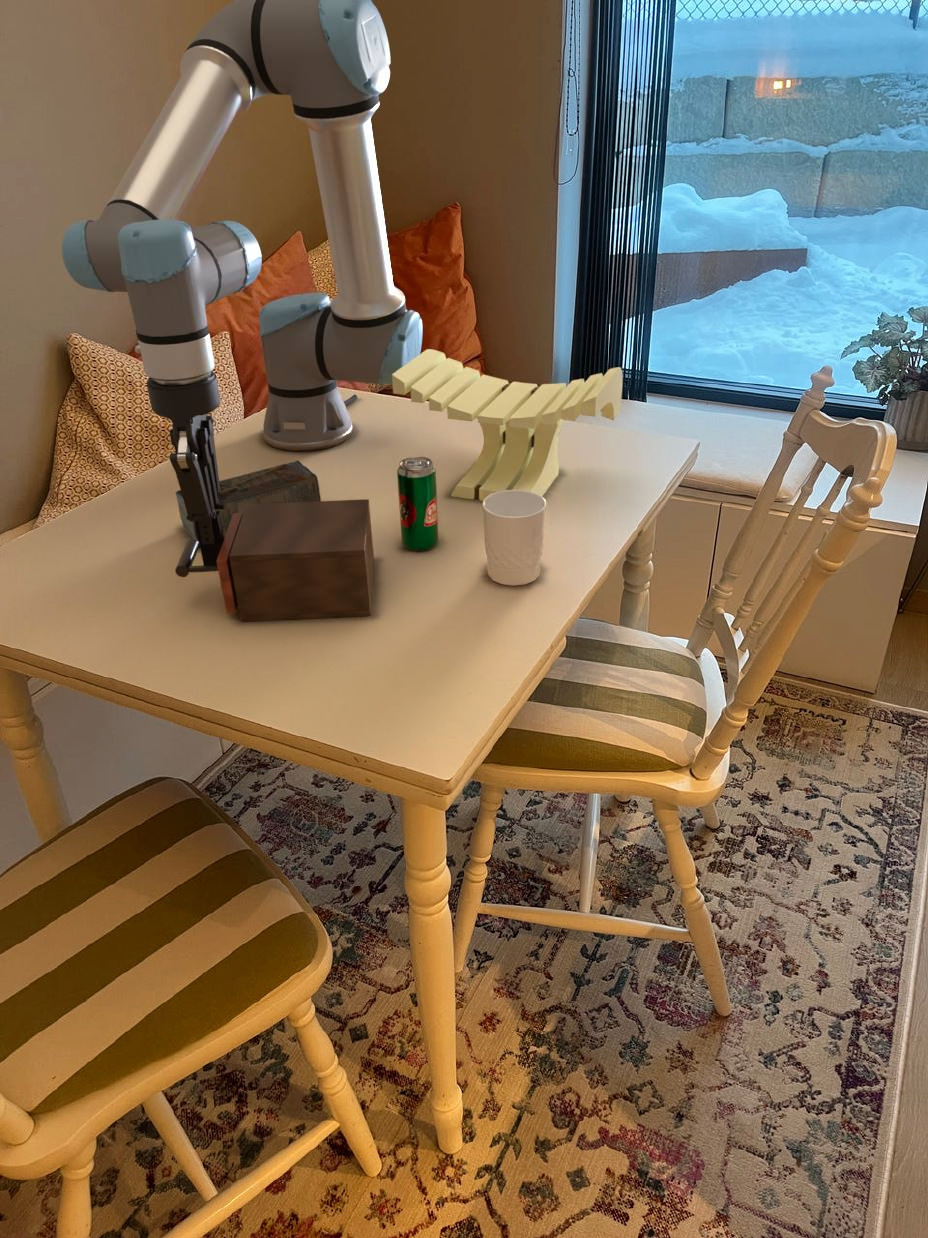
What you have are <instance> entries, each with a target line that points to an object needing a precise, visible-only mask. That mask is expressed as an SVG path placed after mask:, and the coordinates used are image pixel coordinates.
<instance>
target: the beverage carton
mask: <svg viewBox="0 0 928 1238" xmlns="http://www.w3.org/2000/svg"><path fill="white" fill-rule="evenodd" d="M219 484H220V491H221V497H220V498H218V501H219V502H225V509H216V512H217V511H219V512H220V518H221V524H222V529H223V535H224V538H225V536H226V533H227V530H228V527H229V524H230V521H231V519H232V516H233V514H234V513H242V514H243V513H244V510H245V507H246V505H247V504H269V503H293V502H316V501H322V497H321V491H320V485H319V478H318V476H317V474H315V473H314V472H312V470H310V469H309V468H308V467H307V466H305V465H304V464H303V463H302V462H300V460H295V461H292V462H287V463H282V464H279V465H276V466H273V467H267V468H264V469H260V470H257V471H252V472H249V473H245V474H241V475H238V476H233V477H230V478H225V479H221V480H219ZM175 496H176V501H177V506H178V512H179V517H180V520H181V523H182V527H183V530H185V532H186V533H187V534H188V536H189V537H190V539H196V540H197V541H198V542H199V539H198V534H197V529H196V524H195V521H193V522H190V521H189V520H187V518H186V517H187V515H188V514H187V511H186V507H185V504H184V500H183V497H182V493H181V490H177V491H175Z"/></svg>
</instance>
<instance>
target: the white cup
mask: <svg viewBox="0 0 928 1238" xmlns="http://www.w3.org/2000/svg"><path fill="white" fill-rule="evenodd" d="M481 505H482V521H483V535H484V548H485V555H486V562H487V563H486V565H487V567H486V568H487V575H488V577H489V578H490V579H491V580H492V581H493V582H496V583H498V584H500V585H504V586H512V587H513V586H524V585H527V584H530V583H533V582H534V581H536V579H538V578H539V576H540V571H541V561H542V555H543V547H544V538H545V527H546V524H545V523H546V511H547V500H546V499H545V498H544V497H543V496H540V495H538V494H536V493H533V492H530V491H525V490H504V491H499V492H495V493H493V494H490V495H489V496H487V497H486V498H485V499H484V500H483V501H482V503H481Z"/></svg>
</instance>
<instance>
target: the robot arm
mask: <svg viewBox="0 0 928 1238" xmlns="http://www.w3.org/2000/svg"><path fill="white" fill-rule="evenodd" d="M390 66H391V50H390V43H389V39H388V35H387V31H386V27H385V24H384V21H383V19H382V16H381V14H380V12H379V10H378V8H377V7H376V5H375V4H374V3H373V1H372V0H233V1H231V2H230V3H228V4H227V5H226V6H224V7H223V8H221V9H220V10H219V11H218V12H217V13H216V14H214V15H213V16H212V17H211V18H210V19H209V20H208V21H207V23H205V24H204V25H203V26H202V27H201V29H200V30H199V31H198V32H197V33H196V35H195V37H194V38H193V39H192V41H191V42H190V44H189V45H188V47H187V48H186V49H185V51H184V53H183V55H182V56H181V59H180V63H179V72H180V78H179V80H178V82H177V83H176V85H175V86H174V89H173V90H172V91H171V94H170V96H169V97H168V99H167V100H166V102H165V104H164V106H163V108H162V109H161V111H160V112H159V114H158V116H157V117H156V119H155V121H154V123H153V124H152V126H151V128H150V130H149V132H148V133H147V135H146V137H145V139H144V140H143V142H142V143H141V146H140V147H139V149H138V150H137V153H136V154H135V155H134V157H133V159H132V161H131V162H130V164H129V166H128V167H127V169H126V171H125V173H124V174H123V176H122V178H121V180H120V181H119V182H118V183H119V184H118V185H117V187H116V188H115V190H114V192H113V193H112V195H111V197H110V199H109V201H108V202H107V204H106V206H105V207H104V209H103V211H102V212H101V214H100V215H99V217H98V219H97V220H92V219H86V220H84V221H77V222H74V223H73V224H71V225H70V226H69V227H68V228H66V230H65V232H64V233H63V237H62V242H61V255H62V260H63V264H64V267H65V269H66V271H67V273H68V274H69V276H70V278H72V280H73V281H74V282H75V283H77V284H78V285H79V286H81V287H83V288H87V289H90V290H97V291H102V292H103V291H104V292H107V293H115V292H118V293H119V292H120V293H127V296H128V300H129V305H130V309H131V312H132V318H133V321H134V325H135V326H134V327H135V334H136V338H137V343H138V344H136V345H135V347H134V352H135V353H136V354H137V355H140V356H141V362H142V367H143V371H144V375H146V377H148V379H147V380H146V388H147V393H148V397H149V403H150V408H151V411H152V412H153V413H154V414H155V415H157V416H158V417H161V418H165V419H168V420H169V421H171V423H172V425H171V427H172V428H171V429H170V430H169V438H170V442H171V445H172V446H173V447H174V451H175V452H173V453H169V462H170V464H171V466H172V468H173V470H174V472H175V475H176V478H177V482H178V486H179V489H180V490H181V493H182V497H183V500H184V504H185V507H186V511H187V514H188V515H187V517H186V518H187V520H189V521H190V522H193V521H195V524H196V529H197V534H198V539H199V544H200V553H201V559H202V564H203V565H217V558H218V555H219V552H220V550H221V547H222V544H223V541H224V535H223V529H222V524H221V518H220V512H219V511H217V512H216V509H225V502H219V501H218V498H220V497H221V491H220V484H219V481H220V478H219V477H220V476H219V468H218V460H217V452H216V443H215V434H214V433H215V431H214V423H215V420H214V417H213V415H207V414H210V413H212V412H214V411H215V410H217V408H219V406H220V404H221V396H220V390H219V389H220V388H219V383H218V378H217V374H216V373H215V372H214V371H213V370H214V369H215V367H216V363H215V358H214V351H213V345H212V341H211V340H212V339H211V335H210V330H209V326H208V320H207V312H206V306H209V305H210V304H213V303H214V302H217V301H220V300H222V299H224V298H227V297H229V296H231V295H235V294H238V293H241V291H243V290H244V289H245V288H246V287H248V286H249V285H251V284H252V283H253V282H255V280H256V279H257V278H258V276H259V274H260V272H261V270H262V264H263V260H262V259H263V258H262V257H263V256H262V251H261V248H260V245H259V242H258V240H257V238H256V237H255V235H254V234H253V233H252V232H251V230H249V229H248V228H247V227H246V226H244V225H243V224H241V223H239V222H237V221H234V220H224V221H212V222H210V223H208V224H207V225H189V224H188V223H187V222H185V221H182V220H180V218H181V216H182V214H183V212H184V210H185V209H186V207H187V206H188V203H189V201H190V200H191V198H192V196H193V194H194V192H195V190H196V188H197V186H198V184H199V183H200V181H201V179H202V177H203V176H204V173H205V172H206V170H207V168H208V166H209V164H210V162H211V160H212V159H213V157H214V155H215V153H216V152H217V149H218V147H219V146H220V144H221V142H222V140H223V138H224V137H225V135H226V133H227V131H228V129H229V127H230V125H232V122H233V120H234V118H236V117H239V116H243V114H245V113H246V112H247V111H248V110H249V108H250V107H251V104H252V102H253V101H254V100H256V99H258V98H261V97H264V96H270V95H276V96H290V98H291V103H292V108H293V113H294V116H295V118H297V119H298V120H299V121H301V123H303V124H304V125H306V126H307V128H308V134H309V139H310V140H309V141H310V145H311V151H312V156H313V162H314V166H315V167H314V168H315V172H316V178H317V184H318V190H319V194H320V200H321V206H322V212H323V218H324V222H325V228H326V234H327V240H328V245H329V250H330V256H331V261H332V267H333V272H334V279H335V284H336V289H337V294H336V295H335V297H333V299H332V300H331V299H330V297H329V295H328V294H326V293H323V292H307V293H306V292H305V293H299V294H293V295H289V296H284V297H280V298H278V299H274V300H272V301H269V302H268V303H266V304H264V305H263V306H262V307H261V308H260V310H259V313H258V325H259V334H258V335H259V337H260V342H261V346H262V347H261V349H262V355H263V362H264V369H265V375H266V381H267V388H268V399H267V405H266V410H265V415H264V421H263V428H262V431H263V439H264V441H265V442H266V443H267V444H268V445H269V446H271V447H273V448H276V449H279V450H285V451H294V452H306V451H307V452H308V451H318V450H323V449H327V448H331V447H334V446H337V445H339V444H342V443H344V442H345V441H347V440H349V439H350V437H351V436H352V435H353V423H352V418H351V416H350V414H349V411H348V408H347V406H349V405H351V404H352V403H353V402H355V401H356V400H357V399H358V395H357V394H353V395H352V396H350V397H349V398H348V399H346V400H343V397H342V395H341V393H340V390H339V386H338V385H339V384H338V382H347V383H348V382H349V383H360V384H371V385H378V386H379V387H383V386H385V385H386V386H393V383H392V374H393V373H395V372H396V371H397V370H399V369H400V368H402V367H403V366H404V365H406V364H407V363H409V362H410V361H411V360H413V359H414V358H416V357H417V356H418V355H420V354H421V351H422V344H423V332H424V331H423V320H422V317H421V316H420V314H419V312H417V311H415V310H412V309H409V310H408V309H407V305H406V297H405V294H404V292H403V291H402V290H401V289H399V288H398V287H396V286H395V285H394V281H393V274H392V273H393V272H392V267H391V259H390V252H389V247H388V246H389V243H388V238H387V231H386V223H385V215H384V208H383V202H382V201H383V200H382V193H381V186H380V179H379V172H378V165H377V157H376V149H375V143H374V135H373V128H372V120H371V119H372V117H373V116H374V114H375V113H376V111H377V109H378V108H379V106H380V96H379V95H380V94H382V93H384V91H386V89H387V87H388V85H389V81H390V78H391V70H390Z"/></svg>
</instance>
